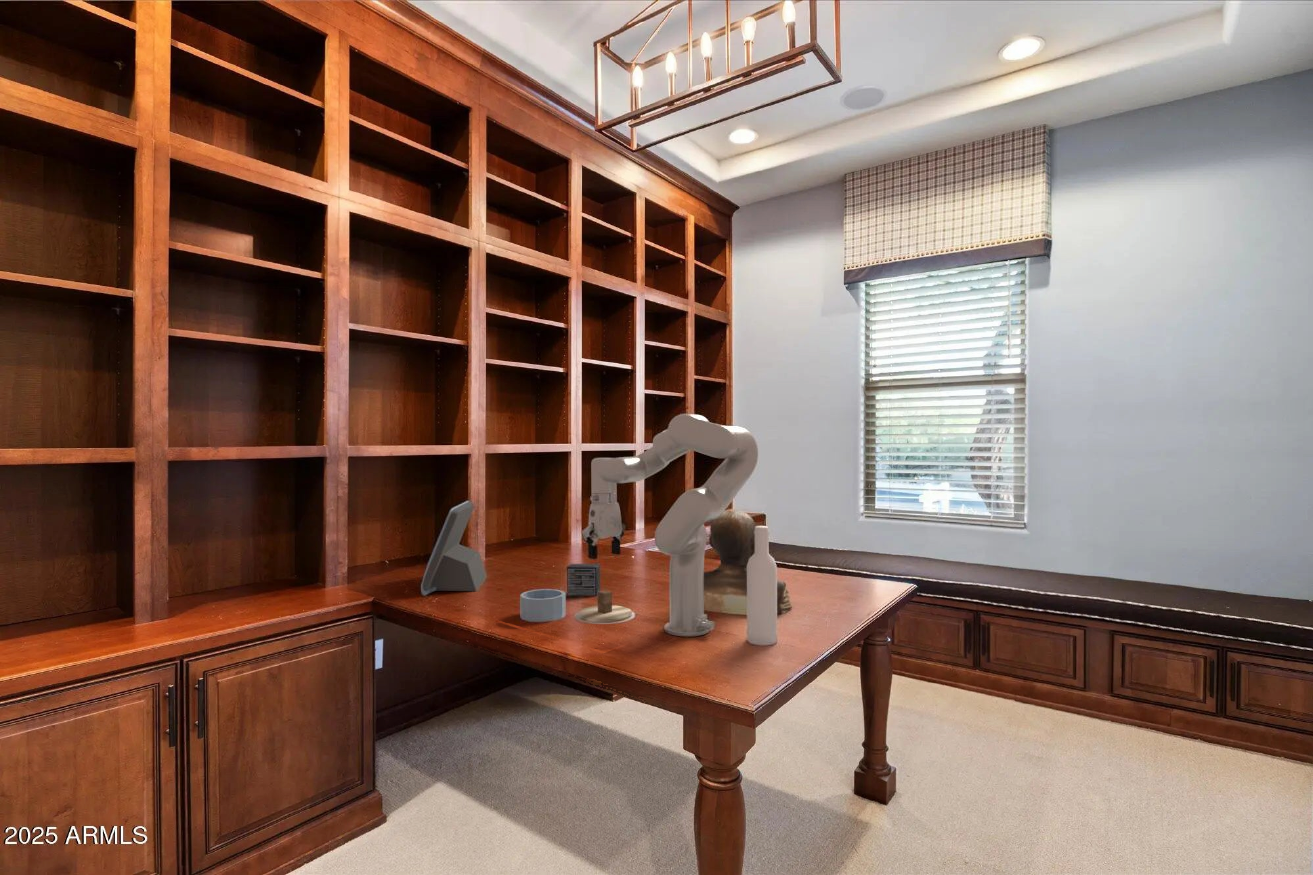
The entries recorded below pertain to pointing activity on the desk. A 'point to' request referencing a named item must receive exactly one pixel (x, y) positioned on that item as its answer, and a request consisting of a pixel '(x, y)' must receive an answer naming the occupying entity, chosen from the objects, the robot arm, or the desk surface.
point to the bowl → (542, 605)
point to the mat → (605, 623)
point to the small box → (583, 580)
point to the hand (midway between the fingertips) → (604, 556)
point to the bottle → (762, 592)
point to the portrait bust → (734, 566)
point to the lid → (604, 610)
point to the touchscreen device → (454, 557)
